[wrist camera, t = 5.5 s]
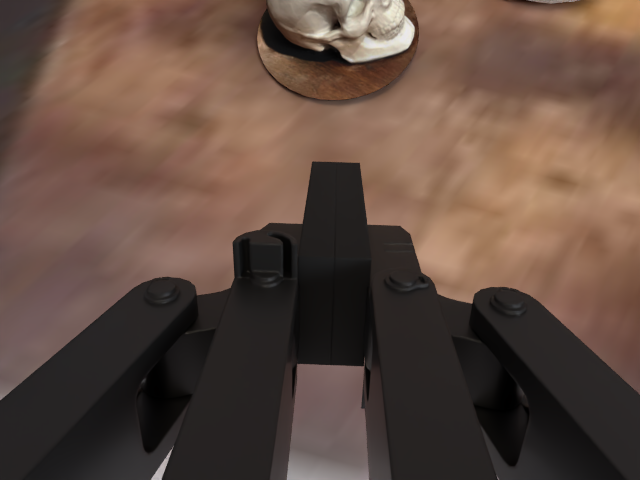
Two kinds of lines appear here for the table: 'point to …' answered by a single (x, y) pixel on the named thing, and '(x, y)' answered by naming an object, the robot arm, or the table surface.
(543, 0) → the saucepan
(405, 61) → the skull
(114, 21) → the table surface
